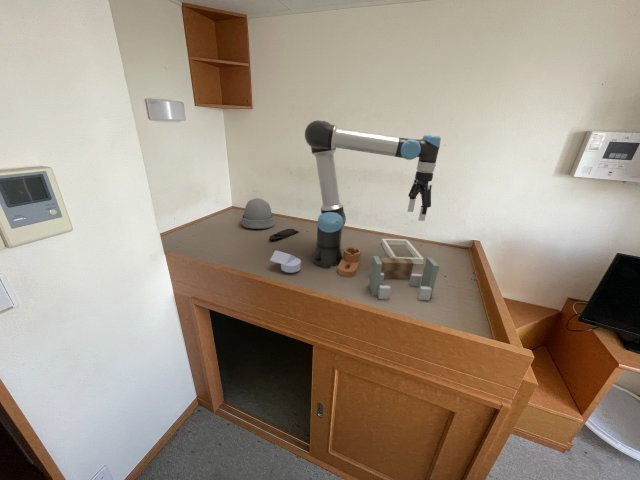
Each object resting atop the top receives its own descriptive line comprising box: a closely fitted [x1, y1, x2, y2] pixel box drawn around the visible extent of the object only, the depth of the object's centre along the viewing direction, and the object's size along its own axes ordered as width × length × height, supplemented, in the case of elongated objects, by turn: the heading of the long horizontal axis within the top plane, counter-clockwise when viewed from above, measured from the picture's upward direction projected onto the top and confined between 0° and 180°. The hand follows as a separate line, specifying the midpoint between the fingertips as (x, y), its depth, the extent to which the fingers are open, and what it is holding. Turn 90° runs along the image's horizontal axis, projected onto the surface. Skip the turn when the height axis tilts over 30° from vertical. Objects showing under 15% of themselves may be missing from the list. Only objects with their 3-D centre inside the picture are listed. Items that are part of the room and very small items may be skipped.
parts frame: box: [380, 238, 425, 265], centre depth 145 cm, size 15×25×3 cm, turn 2°
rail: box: [379, 257, 415, 280], centre depth 120 cm, size 16×4×8 cm, turn 92°
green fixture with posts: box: [368, 255, 440, 301], centre depth 108 cm, size 24×12×14 cm, turn 92°
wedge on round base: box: [269, 250, 302, 274], centre depth 124 cm, size 9×7×13 cm
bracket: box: [337, 246, 362, 278], centre depth 126 cm, size 18×8×7 cm, turn 161°
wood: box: [269, 228, 300, 241], centre depth 159 cm, size 22×7×3 cm, turn 142°
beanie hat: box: [241, 197, 276, 230], centre depth 173 cm, size 21×21×20 cm
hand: (415, 216), depth 131 cm, fingers open, 13 cm apart
